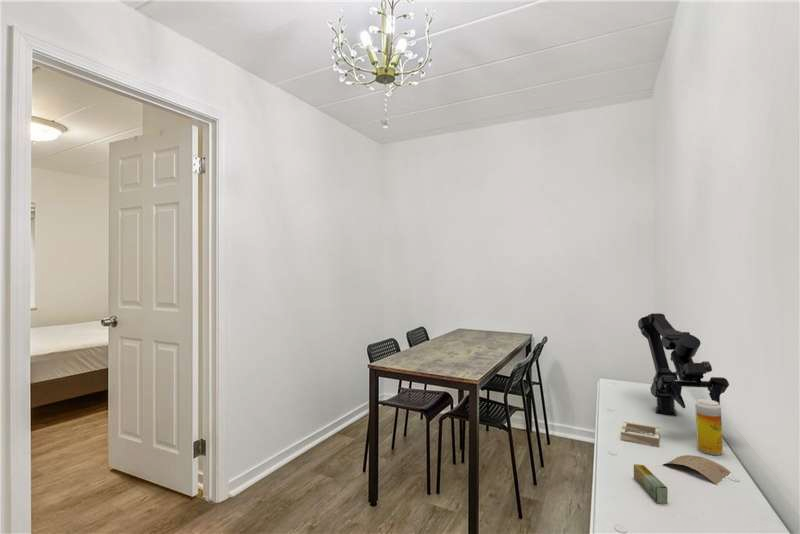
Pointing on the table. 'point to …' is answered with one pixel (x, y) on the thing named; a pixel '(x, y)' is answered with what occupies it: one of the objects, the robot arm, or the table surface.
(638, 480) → the medication box
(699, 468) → the curved brown cardboard
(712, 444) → the beer can
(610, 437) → the table surface
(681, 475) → the table surface
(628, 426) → the tray
